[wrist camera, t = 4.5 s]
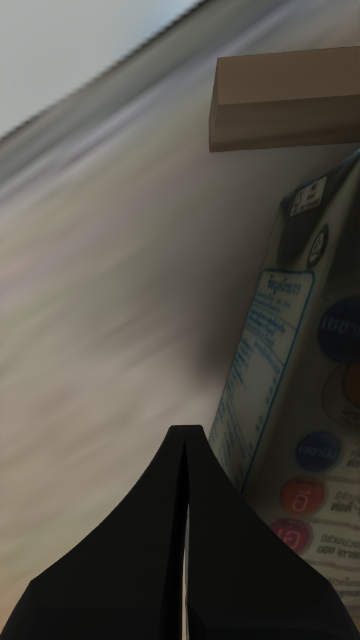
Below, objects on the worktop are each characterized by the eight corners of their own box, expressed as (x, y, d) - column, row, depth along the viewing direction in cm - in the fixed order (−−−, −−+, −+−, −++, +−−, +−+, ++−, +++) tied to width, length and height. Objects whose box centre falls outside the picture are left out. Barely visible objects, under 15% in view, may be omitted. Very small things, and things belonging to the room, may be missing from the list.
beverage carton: (446, 235, 12) (742, 205, 6) (305, 551, 16) (382, 741, 10) (277, 193, 12) (383, 112, 5) (180, 523, 16) (174, 698, 10)
